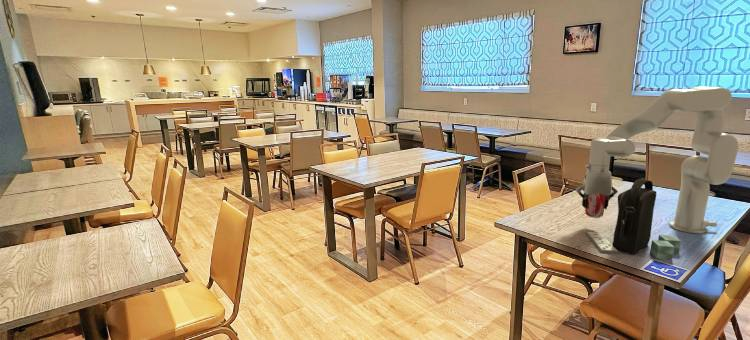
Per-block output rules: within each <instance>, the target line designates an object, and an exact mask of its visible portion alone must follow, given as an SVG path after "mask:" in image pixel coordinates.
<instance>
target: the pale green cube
mask: <svg viewBox="0 0 750 340" xmlns="http://www.w3.org/2000/svg"><path fill="white" fill-rule="evenodd" d="M657 240H658V241H668V242H669V243H670V244H672V245H673V246H674V253H673V254H679V253H680V249H681V244H682V243H681V242H682V240H680V239H679V238H678V237H677V236H675V235H672V234H671V235H669V234H659V235H658V239H657Z"/></svg>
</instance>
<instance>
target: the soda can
mask: <svg viewBox="0 0 750 340" xmlns="http://www.w3.org/2000/svg"><path fill="white" fill-rule="evenodd" d="M587 200H588V203H587V208H586V209H585V208H584V212H585V213H584V214H585V215H586V216H588V217H590V218H591V219H592V218H594V219H600V218H601V217H603V216H604V211H605V209H604V206H605V195H603V194H601V193H596V194H594V195H589V196H588V198H587Z"/></svg>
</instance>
